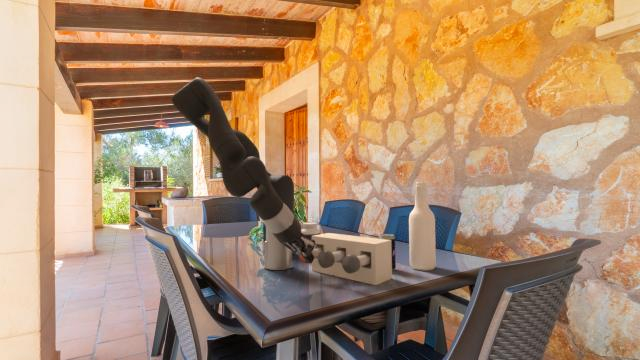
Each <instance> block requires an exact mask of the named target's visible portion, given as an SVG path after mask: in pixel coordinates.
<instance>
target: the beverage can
mask: <svg viewBox="0 0 640 360" xmlns="http://www.w3.org/2000/svg"><path fill="white" fill-rule="evenodd" d="M378 239H386V240H391V248H392V272H393V271H394V270H395V269H396V265H397V264H396V237H395V234H392V233H382V234H381V233H380V234H379V236H378Z"/></svg>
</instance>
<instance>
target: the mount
mask: <svg viewBox="0 0 640 360" xmlns="http://www.w3.org/2000/svg"><path fill="white" fill-rule="evenodd" d="M312 239H313V240H315V246H314V249H317V248H321V247H323V248H324V251H327V250H328V251H330V252H332V253H333V252H337V251H341V250H343V251H345V252H346V256H348V255H355V256H357V257H358V256H361V255H365V254H368V255H370V257H371V263H370V264H367V265H364V266H361V267H360V268H359V270H358V271H357V272H354V273H351V274H349V273H347V272H345V270H344V269H343V267H342V260H341V261H337V262H334V264H333V266H331V267H328V268H322V267H321V266H320V265H319V262H318V256H315V258H314V260H313V262H312V263H311V270H312V271H313V272H315V273H316V272H317V273H321V274H324V275H329V276H333V275H334V276H333V277H338V278H343V279H347V280H351V281H356V282H359V283H360V282H361V283H364V284H369V285H374V286H378V285H380V284H383V283H385V282H387V281H390V280H392V279H393V271H392V248H391V240H386V239H379V238H377V237H376V238H375V237H367V236H359V235H349V234H342V233H341V234H340V233H332V232H326V233H320V234H319V235H314V236H312Z"/></svg>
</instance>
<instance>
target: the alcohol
mask: <svg viewBox="0 0 640 360" xmlns="http://www.w3.org/2000/svg"><path fill="white" fill-rule="evenodd" d="M414 184H415V192H414V193H415V195H414V207H413V209H412V210H411V211H410V212H409V217H408V244H409V245H408V247H409V248H408V250H409V256H408V258H409V259H408V260H409V266H410V267H411V269H412V270H416V271H422V272H424V271H432V270H434V269H435V268H436V266H437V265H436V264H437V262H436V261H437V259H436V255H437V254H436V217H435V214H434V212H433V211H432V210H431V209H430V205H429V198H428V197H429V196H428V185H427V184H428V182H425V181H423V182H422V181H416V182H415V183H414Z"/></svg>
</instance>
